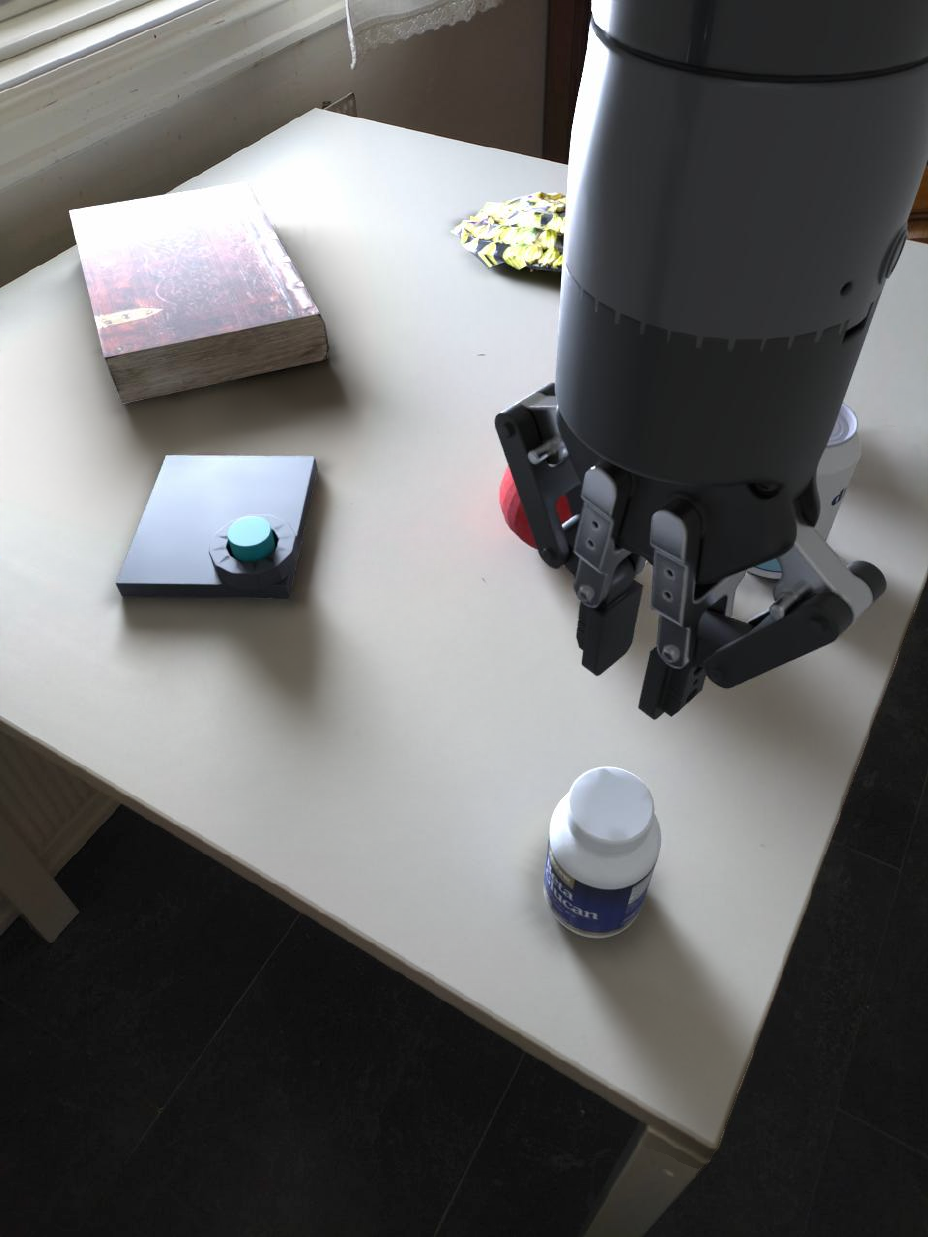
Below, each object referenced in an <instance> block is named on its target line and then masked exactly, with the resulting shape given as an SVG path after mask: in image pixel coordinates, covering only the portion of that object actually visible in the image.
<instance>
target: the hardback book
mask: <svg viewBox="0 0 928 1237" xmlns="http://www.w3.org/2000/svg"><path fill="white" fill-rule="evenodd" d="M68 212H69V217H70V220H71V224H72V225H71V226H72V228H73V233H74V237H75V241H76V245H77V250H78V254H79V258H80V262H81V266H82V271H83V275H84V279H85V283H86V287H87V291H88V296H89V299H90V305H91V308H92V313H93V317H94V321H95V325H96V329H97V332H98V333H97V334H98V339H99V342H100V346H101V351H102V355H103V359H104V360H105V363H106V366H107V369H108V371H109V374H110V377H111V379H112V382H113V385H114V388H115V390H116V393H117V395H118V398H119V400H120V404H121V405H124V404H129V403H132V402H133V403H134V402H138V401H144V400H146V399H152V398H156V397H160V396H161V397H162V396H166V395H171V394H175V393H179V392H184V391H188V390H192V389H197V388H202V387H207V386H212V385H215V384H222V383H224V382H225V383H226V382H229V381H234V380H235V381H236V380H239V379H243V378H249V377H252V376H257V375H262V374H267V373H271V372H275V371H280V370H284V369H289V368H293V367H298V366H303V365H308V364H312V363H317V362H321V361H322V362H323V361H326V360H328V358H329V349H330V346H329V340H328V335H327V328H326V324H325V321H324V319H323V317H322V315H321V313H320V310H319V309H318V307H317V305H316V303H315V302H314V300H313V298H312V296H311V295H310V293H309V291H308V289H307V287H306V285H305V284H304V282H303V280H302V278H301V276H300V274H299V272H298V271H297V270H296V267H295V266H294V264H293V262H292V259H291V258H290V257H289V255H288V253H287V250H286V249H285V247H284V246H283V244H282V242H281V240H280V239H279V237H278V235H277V233H276V232H275V230H274V228H273V226H272V224H271V222H270V220H269V218H268V217H267V214H266V213H265V211H264V209H263V207H262V206H261V204H260V202H259V201H258V199H257V197H256V195H255V193H254V191H253V189H252V188H251V186H250V184H249V183H248V181H246V180H245V181H240V182H234V183H227V184H222V185H215V186H209V187H204V188H197V189H191V190H186V191H180V192H179V191H178V192H173V193H167V194H161V195H155V196H149V197H148V196H147V197H144V198H143V197H142V198H136V199H131V200H124V201H117V202H113V203H106V204H101V205H100V204H99V205H95V206H94V205H93V206H87V207H82V208H76V209H75V208H74V209H71V210H69V211H68Z"/></svg>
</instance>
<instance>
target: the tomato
mask: <svg viewBox="0 0 928 1237" xmlns="http://www.w3.org/2000/svg"><path fill="white" fill-rule="evenodd" d="M498 503H499V506H500V508H501V511H502V515H503V518H504V520H505V523H506V524H507V526H508V528H509V529H510V531H512V532H513V533H514V534H515V535H516V537H518V538H519V539H520V541H522V542H523V543H525V545H527V546H529V547H531V548H533V549H535V550H538V549H537V546H536V543H535V540H534V538H533V535H532V532H531V529H530V526H529V523H528V520H527V517H526V515H525V512H524V509H523V506H522V503H521V500H520V497H519V494H518V491H517V489H516V486H515V483H514V480H513V477H512V474H511V471H510V468H509V466H508V465H507V467H506V469H505V471H504V472H503V476H502V478H501V480H500V485H499V491H498ZM556 508H557V512H558V515H559V518H560V521H561V524H564V523H565V522H567V521H568V520H569V519H571V518H572V514H571V511H570V508H569V504H568V501H567V498H566V495H563V496H562V497H560V498H559V499H558V501H557V504H556Z"/></svg>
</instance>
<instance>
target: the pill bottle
mask: <svg viewBox="0 0 928 1237" xmlns="http://www.w3.org/2000/svg"><path fill="white" fill-rule="evenodd" d="M655 810H656V809H655V802H654V797H653V795H652V792H651V790H650V789H649V787H648V786H647V785H646V783H644V781H643V780H642V779H641V778H639V777H638V776H637V775H635V774H634V773H632V772H630V771H628V770H627V769H623V768H620V767H616V766H599V767H595V768H592V769H590V770H587V771H585V772H584V773H582V774H580V776H579V777H578V778H577V779H576V780H575V781H574V782H573V784H572V785H571V787H570V789H569V792H568V793H567V794H566V795H565V796H564V797H563V798H561V800H560V801H559V802H558V804H557V805H556V807H555V809H554V811H553V813H552V816H551V819H550V824H549V832H548V840H547V849H546V859H545V865H544V866H545V867H544V874H543V895H544V900H545V902H546V904H547V907H548V909H549V911H550V913H551V914H552V916H553V917H554V918H555V919H556V920H557V922H559V924H560V925H561V926H563V927H564V928H566V929H567V930H568V931H570V932H572V933H574V934H576V935H578V936H582V937H585V938H590V939H606V938H610V937H614V936H616V935H619V934H620V933H622V932H623V931H625V930H627V929H628V928H629V927H630V926H631V925H632V924H633V923H634V922H635V921H636V919H637V917H638V916H639V914H640V912H641V910H642V907H643V905H644V902H645V898H646V896H647V892H648V889H649V886H650V883H651V880H652V877H653V873H654V871H655V867H656V864H657V862H658V858H659V856H660V855H659V854H660V851H661V845H662V831H661V827H660V823H659V820H658V817H657V814H656V813H655Z"/></svg>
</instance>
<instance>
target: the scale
mask: <svg viewBox="0 0 928 1237" xmlns="http://www.w3.org/2000/svg"><path fill="white" fill-rule="evenodd" d="M318 470H319V468H318V464H317V458H316V456H315V455H313V456H312V455H307V456H305V455H190V454H189V455H188V454H187V455H185V454H183V455H177V454H175V455H172V454H171V455H170V454H169V455H165V457H164V460H163V462H162V464H161V467H160V469H159V472H158V475H157V477H156V480H155V483H154V486H153V487H152V490H151V492H150V495H149V498H148V500H147V503H146V505H145V508H144V509H143V512H142V515H141V518H140V521H139V523H138V525H137V528H136V530H135V533H134V535H133V538H132V541H131V543H130V546H129V548H128V550H127V551H128V552H127V554H126V556H125V559H124V561H123V563H122V566H121V569H120V571H119V574H118V576H117V579H116V581H115V585H116V588H117V591H118V592H119V594H120V596H121V597H122V598H193V599H195V598H198V599H199V598H200V599H205V598H206V599H214V598H215V599H265V600H266V599H267V600H269V599H274V600H275V599H276V600H279V599H280V600H281V599H282V600H290V598H291V593H292V588H293V584H294V579H295V575H296V570H297V567H298V566H297V565H298V561H299V557H300V552H301V547H302V544H303V538H304V533H305V529H306V525H307V520H308V515H309V511H310V507H311V501H312V498H313V492H314V489H315V484H316V479H317V474H318ZM246 517H260V518H263V519H265V520H266V521H267V522H268V523H269V524H270V526H271V529H272V533H273V537H274V541H275V548H274V550H273V552H272V553H271V554H270V555H269V556H268V557H266V558H264V559H261V560H258V561H256V562H243V561H240V560H238V559H237V558H235V556H234V555H233V553H232V550H231V547H230V544H229V540H228V537H227V533H228V530H229V528H230V526H231V525H232V524H233V523H235V522H236V521H238V520H240V519H242V518H246Z"/></svg>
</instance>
